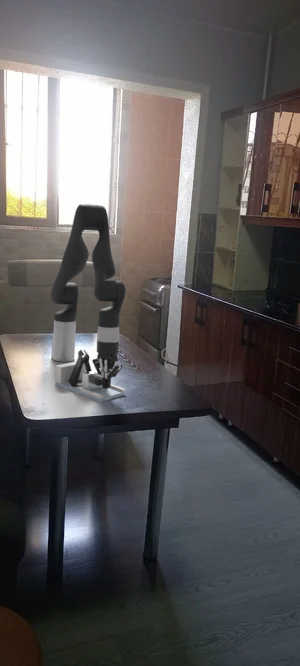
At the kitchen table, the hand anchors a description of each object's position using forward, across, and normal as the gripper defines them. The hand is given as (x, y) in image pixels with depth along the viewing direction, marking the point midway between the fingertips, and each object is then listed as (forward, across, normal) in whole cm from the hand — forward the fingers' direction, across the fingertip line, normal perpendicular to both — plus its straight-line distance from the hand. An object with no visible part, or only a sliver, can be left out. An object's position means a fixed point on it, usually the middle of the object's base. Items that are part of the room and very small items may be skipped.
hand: (106, 388), depth 176 cm
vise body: (+2, -9, 0) cm, 9 cm away
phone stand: (+1, -12, 0) cm, 12 cm away
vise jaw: (+1, -5, 0) cm, 5 cm away
